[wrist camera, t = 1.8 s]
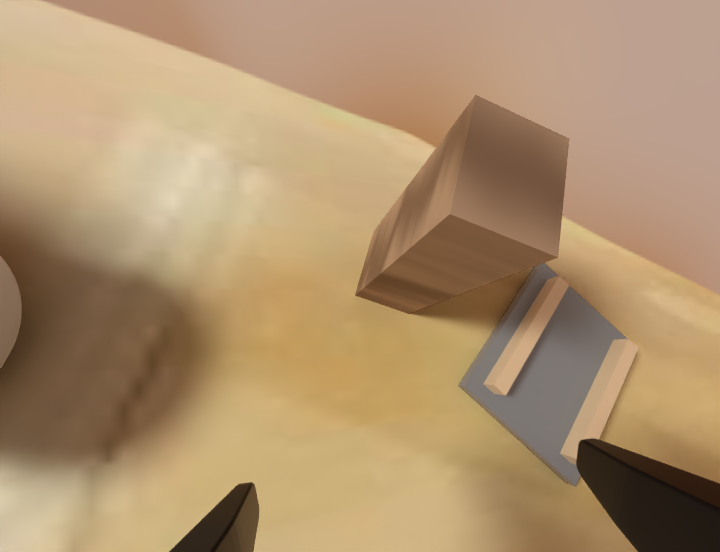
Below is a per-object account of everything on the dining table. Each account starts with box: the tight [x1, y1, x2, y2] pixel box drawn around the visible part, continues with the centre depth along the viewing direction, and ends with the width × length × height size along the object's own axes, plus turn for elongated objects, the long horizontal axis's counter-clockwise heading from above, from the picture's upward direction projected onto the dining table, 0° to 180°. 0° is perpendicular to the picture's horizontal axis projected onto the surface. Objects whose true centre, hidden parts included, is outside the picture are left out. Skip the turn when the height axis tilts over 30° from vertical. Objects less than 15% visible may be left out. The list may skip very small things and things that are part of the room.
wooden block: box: [355, 95, 569, 314], centre depth 17 cm, size 5×4×13 cm
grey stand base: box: [458, 263, 638, 487], centre depth 24 cm, size 12×10×2 cm
